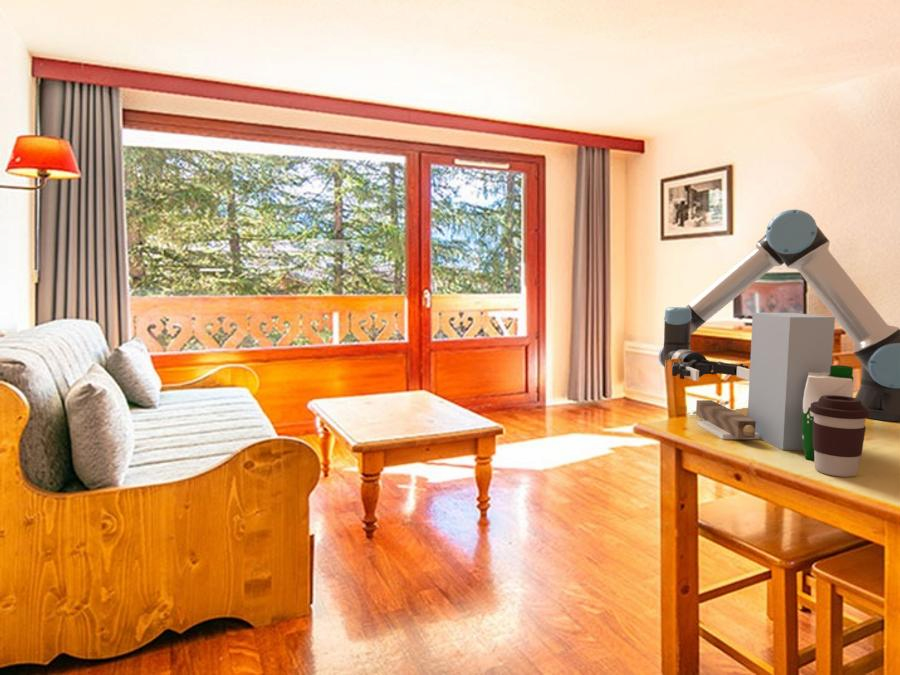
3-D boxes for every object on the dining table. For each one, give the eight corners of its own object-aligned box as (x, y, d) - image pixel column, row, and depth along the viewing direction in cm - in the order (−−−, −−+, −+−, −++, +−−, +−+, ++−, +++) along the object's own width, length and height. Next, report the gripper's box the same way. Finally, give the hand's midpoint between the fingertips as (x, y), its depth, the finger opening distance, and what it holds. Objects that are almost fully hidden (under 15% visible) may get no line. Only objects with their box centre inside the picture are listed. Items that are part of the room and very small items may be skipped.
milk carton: (850, 466, 126) (856, 370, 124) (799, 459, 130) (805, 367, 128) (847, 455, 133) (853, 364, 131) (799, 449, 138) (805, 361, 136)
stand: (826, 449, 138) (834, 317, 135) (782, 450, 137) (790, 317, 134) (786, 431, 153) (792, 312, 150) (746, 432, 153) (752, 312, 150)
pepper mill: (759, 440, 141) (760, 423, 141) (742, 440, 141) (743, 423, 141) (710, 414, 167) (711, 400, 167) (696, 414, 167) (696, 400, 167)
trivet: (759, 439, 147) (759, 434, 147) (722, 439, 146) (722, 434, 146) (731, 424, 161) (731, 420, 160) (697, 425, 160) (697, 420, 160)
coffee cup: (808, 475, 120) (812, 400, 119) (805, 461, 129) (809, 391, 127) (868, 483, 115) (874, 405, 114) (862, 468, 124) (867, 396, 123)
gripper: (731, 376, 176) (772, 390, 155) (645, 376, 175) (674, 390, 154) (733, 350, 175) (773, 360, 154) (646, 350, 174) (675, 361, 153)
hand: (724, 375), depth 154 cm, fingers open, 13 cm apart
